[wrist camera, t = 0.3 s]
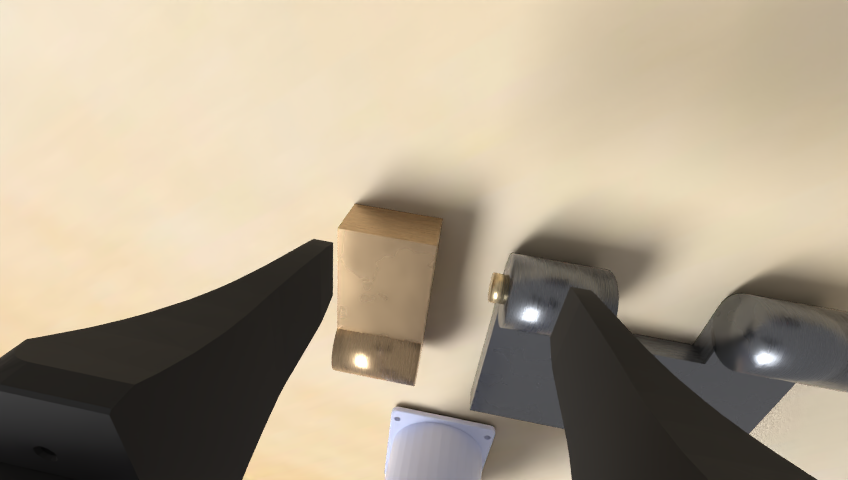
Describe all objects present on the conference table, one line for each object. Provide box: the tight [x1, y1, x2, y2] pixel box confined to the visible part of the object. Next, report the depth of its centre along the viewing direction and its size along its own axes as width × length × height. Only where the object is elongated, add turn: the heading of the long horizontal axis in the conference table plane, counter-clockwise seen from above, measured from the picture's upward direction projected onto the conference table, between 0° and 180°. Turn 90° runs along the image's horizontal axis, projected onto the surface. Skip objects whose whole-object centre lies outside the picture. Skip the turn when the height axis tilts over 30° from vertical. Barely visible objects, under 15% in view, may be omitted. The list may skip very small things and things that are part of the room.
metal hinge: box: [470, 253, 848, 434], centre depth 23 cm, size 13×19×4 cm
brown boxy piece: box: [332, 204, 443, 386], centre depth 23 cm, size 10×5×4 cm, turn 173°
